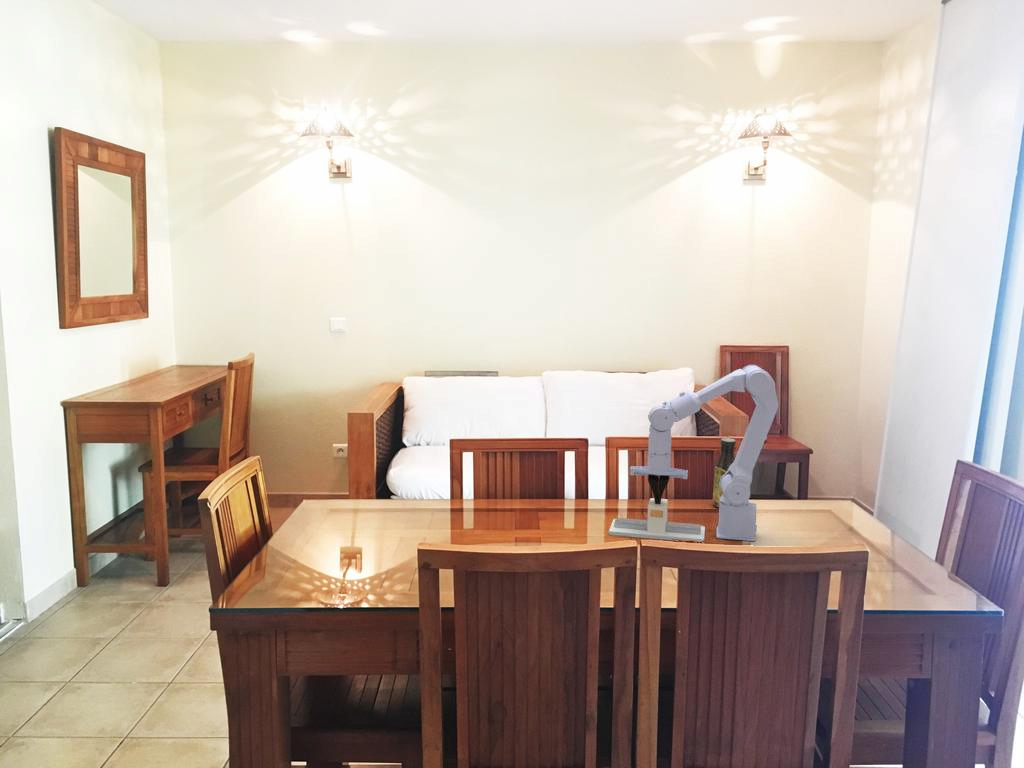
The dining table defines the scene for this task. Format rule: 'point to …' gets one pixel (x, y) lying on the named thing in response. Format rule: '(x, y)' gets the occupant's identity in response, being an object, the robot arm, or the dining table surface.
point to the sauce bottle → (723, 466)
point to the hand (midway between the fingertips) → (657, 503)
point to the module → (657, 516)
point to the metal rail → (669, 528)
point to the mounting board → (656, 534)
